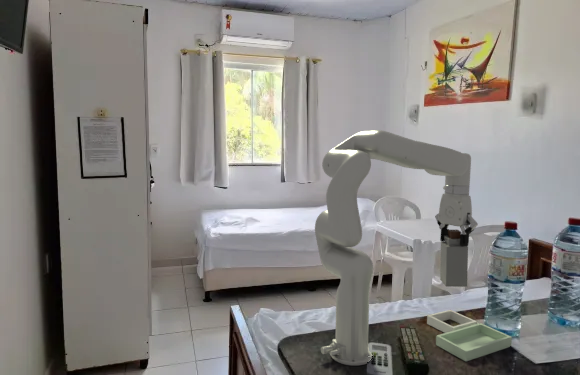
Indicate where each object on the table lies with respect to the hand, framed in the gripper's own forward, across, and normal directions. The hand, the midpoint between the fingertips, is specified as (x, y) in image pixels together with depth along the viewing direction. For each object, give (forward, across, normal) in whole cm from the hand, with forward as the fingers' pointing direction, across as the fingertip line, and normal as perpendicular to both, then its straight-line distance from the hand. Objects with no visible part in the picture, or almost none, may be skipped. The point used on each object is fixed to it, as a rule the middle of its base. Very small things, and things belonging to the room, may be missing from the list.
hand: (454, 243), depth 136 cm
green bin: (+29, +12, -4) cm, 32 cm away
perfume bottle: (+14, 0, +1) cm, 14 cm away
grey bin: (+29, 0, +1) cm, 29 cm away
